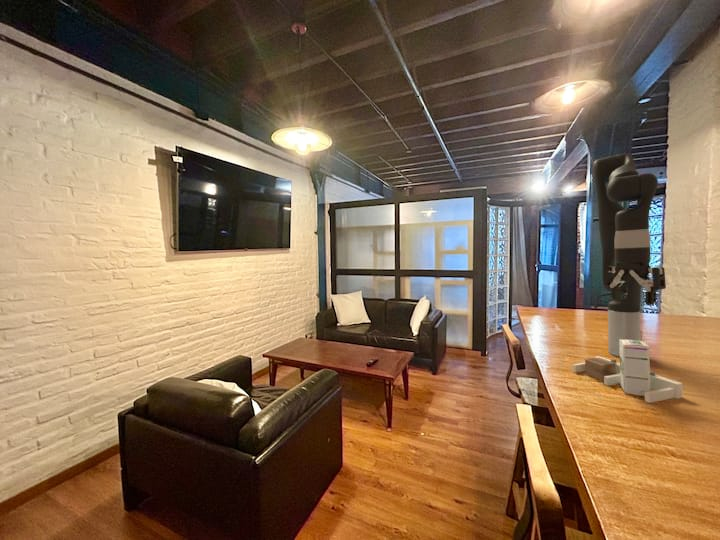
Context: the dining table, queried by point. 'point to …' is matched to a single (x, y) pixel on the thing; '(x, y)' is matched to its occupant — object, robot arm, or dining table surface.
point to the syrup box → (634, 367)
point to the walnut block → (599, 368)
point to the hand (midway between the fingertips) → (632, 302)
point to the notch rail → (657, 383)
